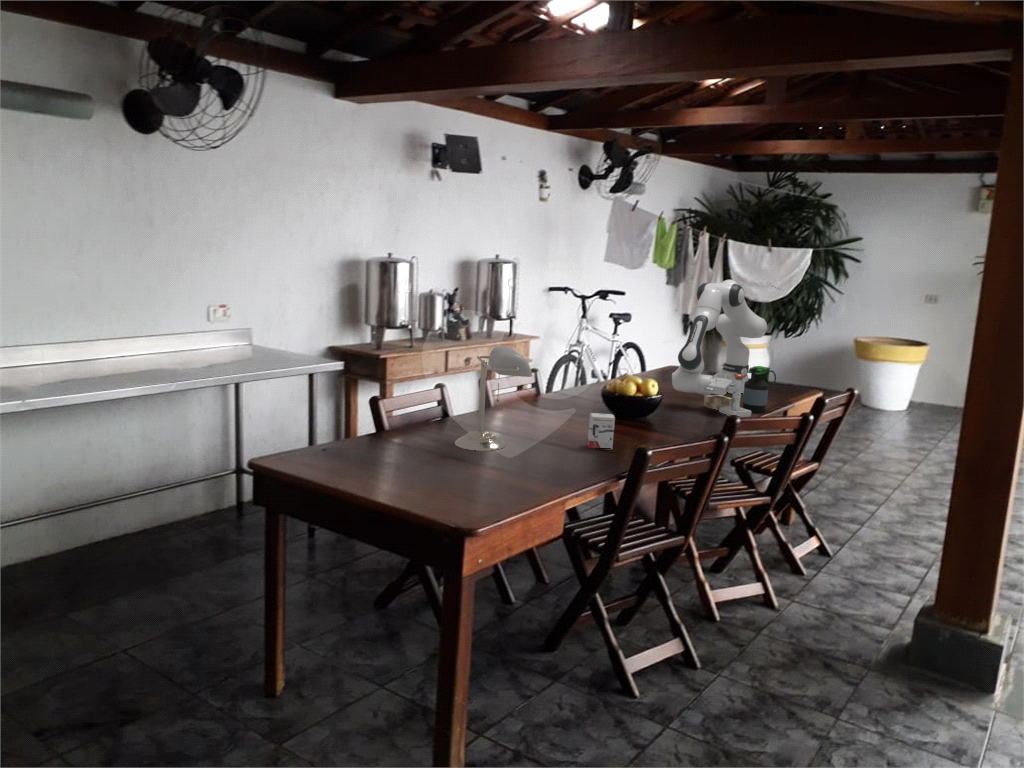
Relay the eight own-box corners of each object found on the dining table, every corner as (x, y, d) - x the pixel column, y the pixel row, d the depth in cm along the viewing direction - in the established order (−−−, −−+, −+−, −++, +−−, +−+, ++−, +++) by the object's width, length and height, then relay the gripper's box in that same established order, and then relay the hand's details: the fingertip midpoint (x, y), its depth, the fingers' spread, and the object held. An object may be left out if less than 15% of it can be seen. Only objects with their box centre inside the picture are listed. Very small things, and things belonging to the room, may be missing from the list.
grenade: (772, 410, 364) (778, 367, 360) (759, 414, 354) (764, 370, 350) (751, 406, 371) (755, 363, 367) (737, 410, 361) (742, 366, 357)
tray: (718, 412, 353) (719, 407, 353) (735, 411, 357) (736, 406, 357) (733, 417, 345) (734, 412, 344) (750, 416, 349) (751, 410, 348)
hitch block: (703, 406, 365) (704, 395, 364) (719, 405, 369) (720, 394, 368) (716, 410, 357) (717, 399, 356) (732, 409, 361) (733, 398, 360)
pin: (727, 411, 352) (731, 373, 349) (735, 411, 354) (739, 373, 351) (734, 414, 348) (738, 375, 345) (742, 413, 350) (746, 375, 347)
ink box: (588, 448, 282) (590, 416, 280) (587, 444, 287) (589, 412, 285) (612, 449, 282) (615, 417, 280) (611, 446, 287) (613, 414, 285)
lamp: (531, 454, 271) (537, 355, 264) (460, 454, 266) (464, 354, 259) (514, 434, 296) (520, 343, 290) (449, 434, 291) (453, 342, 284)
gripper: (703, 381, 344) (736, 385, 339) (712, 374, 362) (743, 378, 357) (702, 395, 345) (735, 400, 340) (711, 388, 364) (742, 392, 358)
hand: (739, 389), depth 348 cm, fingers closed on pin, 3 cm apart
